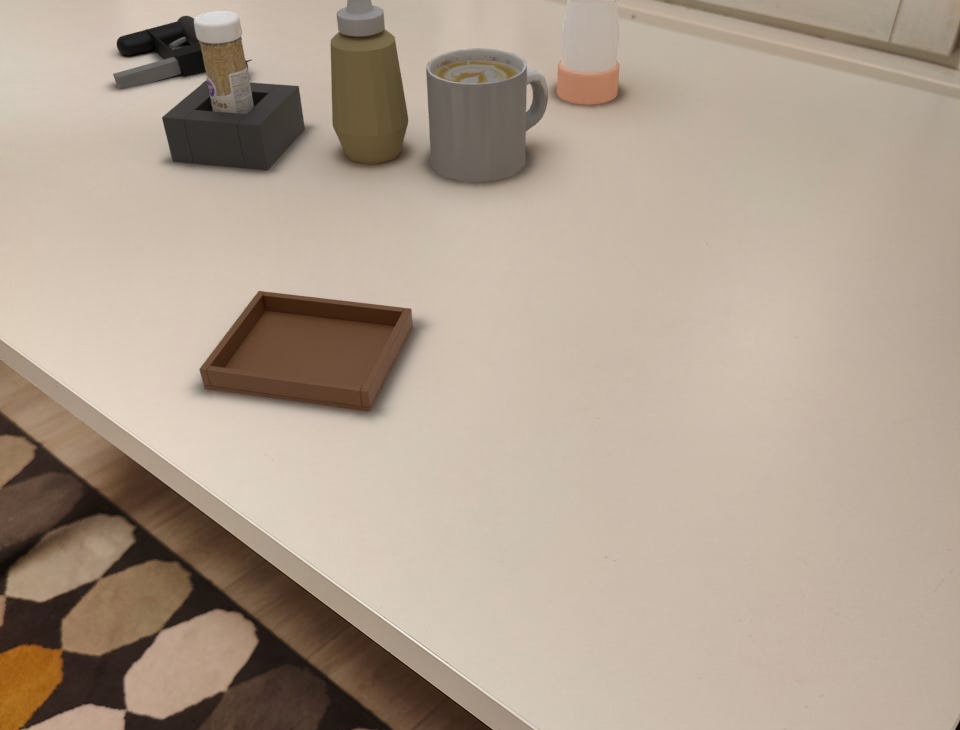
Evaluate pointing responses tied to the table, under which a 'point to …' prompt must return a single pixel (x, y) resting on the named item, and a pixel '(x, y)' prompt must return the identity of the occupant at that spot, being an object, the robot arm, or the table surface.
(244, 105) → the sprinkles bottle
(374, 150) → the squeeze bottle
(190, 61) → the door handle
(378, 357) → the tray
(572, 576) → the table surface
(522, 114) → the coffee mug
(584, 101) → the pepper shaker
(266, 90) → the socket base
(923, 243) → the table surface
